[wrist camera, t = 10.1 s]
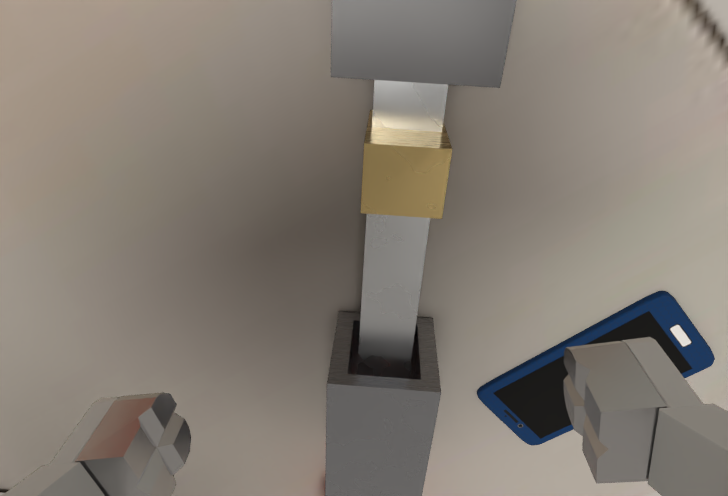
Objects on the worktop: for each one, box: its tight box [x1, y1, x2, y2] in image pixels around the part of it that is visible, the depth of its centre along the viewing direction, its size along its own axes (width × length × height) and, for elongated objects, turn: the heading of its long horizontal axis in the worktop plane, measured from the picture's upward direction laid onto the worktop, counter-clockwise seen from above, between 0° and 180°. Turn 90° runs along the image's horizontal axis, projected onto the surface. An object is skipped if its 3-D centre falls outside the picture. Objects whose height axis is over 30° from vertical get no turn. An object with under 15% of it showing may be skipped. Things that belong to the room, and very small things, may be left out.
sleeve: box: [325, 311, 441, 496], centre depth 30 cm, size 12×6×6 cm, turn 177°
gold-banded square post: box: [357, 80, 452, 379], centre depth 23 cm, size 19×3×5 cm, turn 177°
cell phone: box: [477, 291, 715, 445], centre depth 32 cm, size 7×14×1 cm, turn 132°
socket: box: [331, 0, 516, 88], centre depth 19 cm, size 4×6×6 cm, turn 87°
